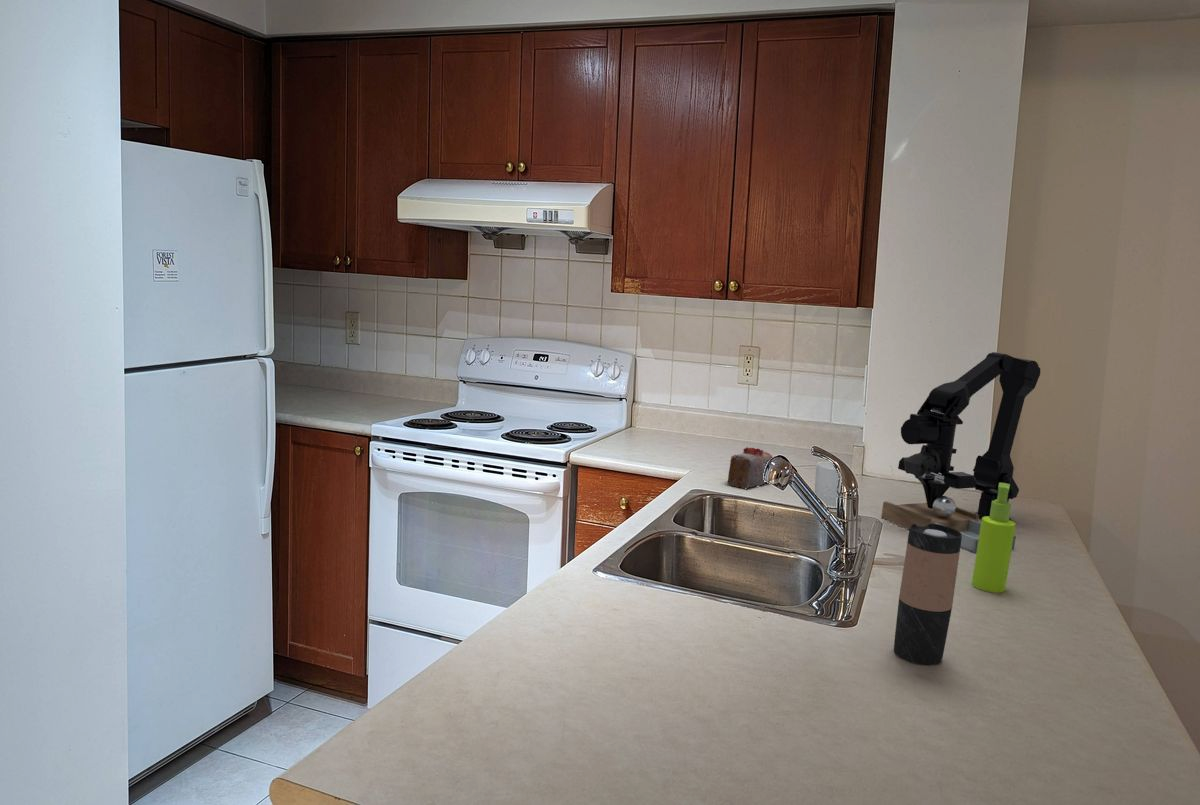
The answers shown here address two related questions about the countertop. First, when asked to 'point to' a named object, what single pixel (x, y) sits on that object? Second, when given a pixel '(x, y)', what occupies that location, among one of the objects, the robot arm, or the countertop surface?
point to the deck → (926, 516)
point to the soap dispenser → (994, 545)
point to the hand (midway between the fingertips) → (930, 508)
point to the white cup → (826, 483)
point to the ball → (944, 506)
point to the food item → (748, 468)
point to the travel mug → (926, 593)
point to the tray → (973, 537)
